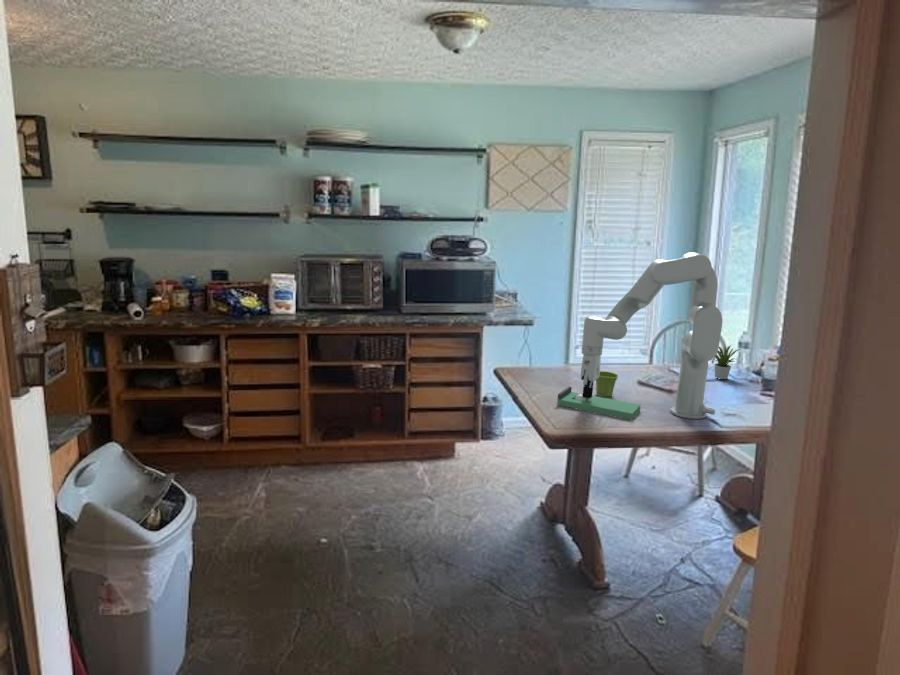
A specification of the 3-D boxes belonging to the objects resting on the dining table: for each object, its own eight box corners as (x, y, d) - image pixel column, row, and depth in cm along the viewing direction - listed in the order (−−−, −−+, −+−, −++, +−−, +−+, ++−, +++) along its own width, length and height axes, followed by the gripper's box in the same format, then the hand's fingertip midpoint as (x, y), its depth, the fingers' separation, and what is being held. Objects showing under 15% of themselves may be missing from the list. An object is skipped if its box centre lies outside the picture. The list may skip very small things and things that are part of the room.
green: (639, 410, 244) (641, 399, 243) (631, 419, 233) (633, 408, 232) (568, 397, 257) (569, 386, 256) (557, 405, 246) (558, 394, 245)
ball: (588, 395, 248) (578, 391, 249) (584, 398, 244) (575, 394, 246) (584, 405, 249) (575, 400, 251) (581, 407, 246) (571, 403, 247)
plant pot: (616, 393, 266) (618, 372, 264) (615, 399, 257) (618, 378, 255) (593, 390, 268) (595, 370, 267) (591, 396, 259) (593, 375, 258)
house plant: (734, 375, 306) (739, 341, 302) (744, 383, 292) (749, 348, 289) (703, 373, 307) (707, 339, 304) (711, 381, 293) (716, 345, 290)
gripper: (596, 355, 234) (591, 403, 238) (607, 348, 247) (602, 394, 251) (576, 351, 238) (571, 400, 241) (588, 345, 251) (583, 391, 254)
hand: (587, 397), depth 246 cm, fingers closed
